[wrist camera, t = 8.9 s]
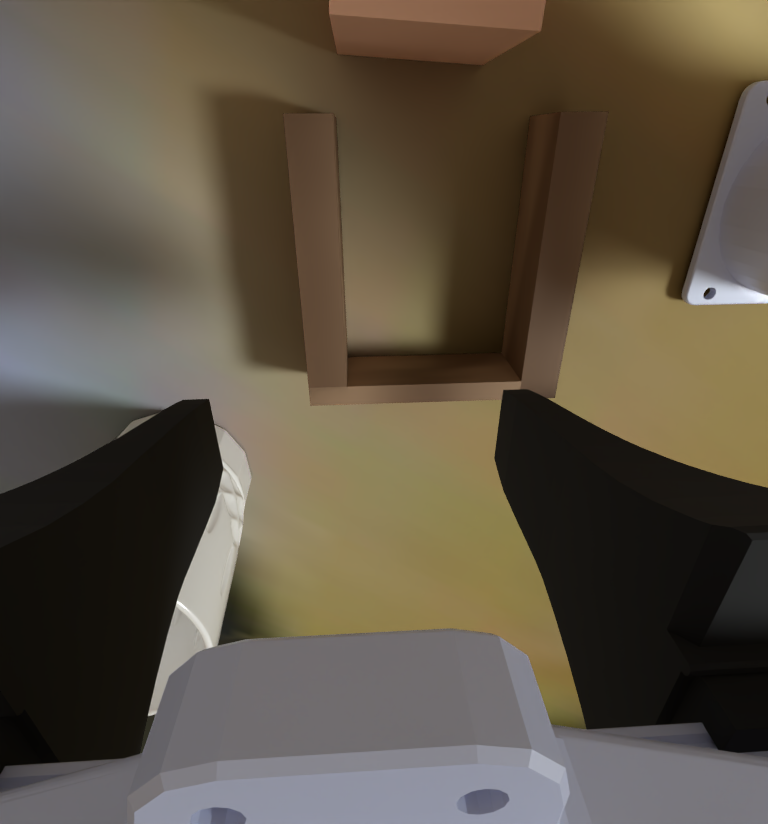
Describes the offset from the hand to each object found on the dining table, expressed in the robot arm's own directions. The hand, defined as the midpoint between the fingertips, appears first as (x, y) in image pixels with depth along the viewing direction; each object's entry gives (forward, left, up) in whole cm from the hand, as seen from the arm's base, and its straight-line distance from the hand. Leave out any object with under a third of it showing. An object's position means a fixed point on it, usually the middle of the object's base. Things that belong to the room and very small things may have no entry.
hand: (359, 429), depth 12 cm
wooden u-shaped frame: (-3, -2, -10) cm, 11 cm away
